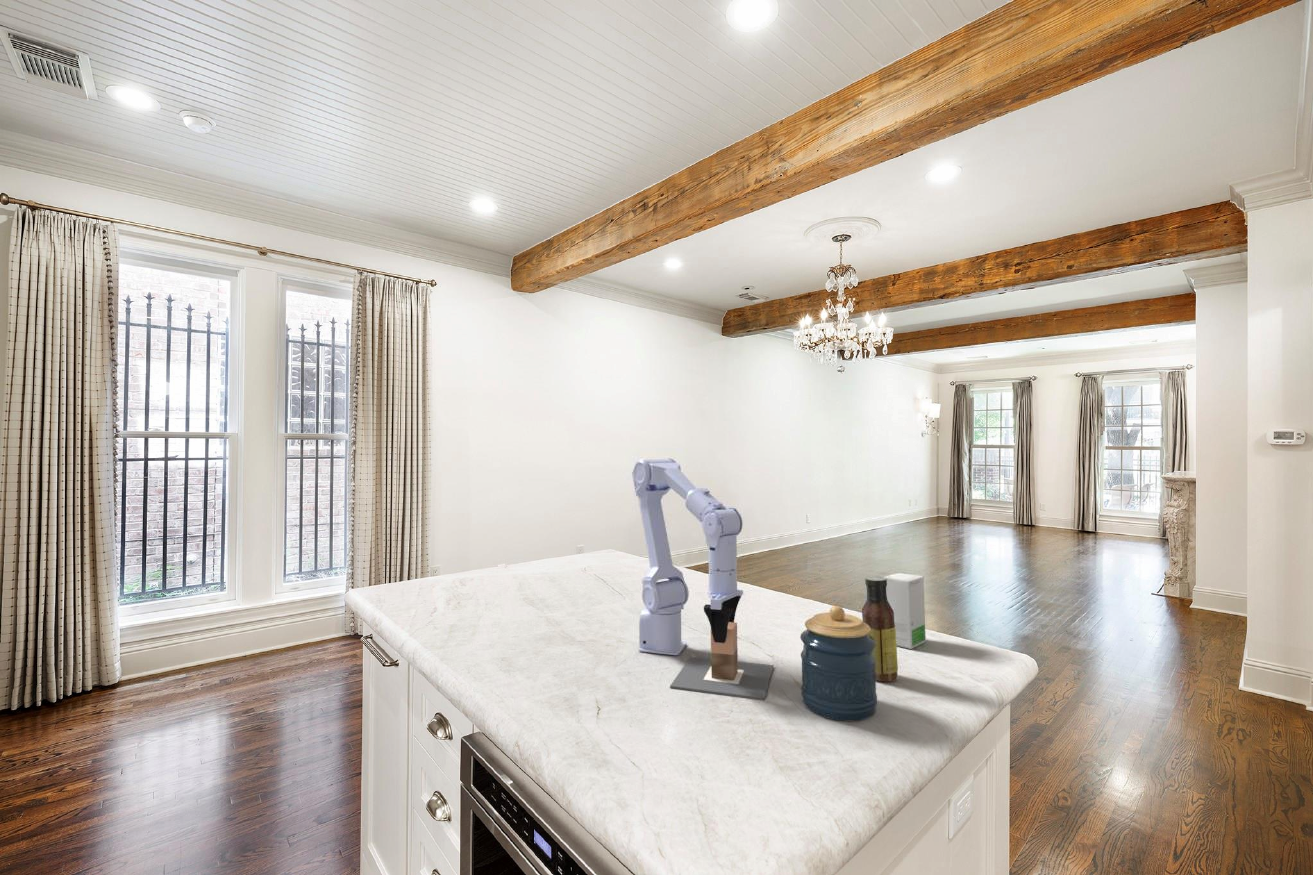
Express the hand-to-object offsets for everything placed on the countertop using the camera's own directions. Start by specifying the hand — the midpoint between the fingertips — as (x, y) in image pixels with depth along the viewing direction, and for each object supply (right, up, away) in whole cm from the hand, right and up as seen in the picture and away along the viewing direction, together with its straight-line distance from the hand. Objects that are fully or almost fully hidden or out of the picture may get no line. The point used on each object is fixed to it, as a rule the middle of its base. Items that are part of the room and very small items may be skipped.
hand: (723, 635), depth 112 cm
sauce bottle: (+31, -8, -1) cm, 32 cm away
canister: (+19, -8, -13) cm, 24 cm away
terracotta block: (0, -3, 0) cm, 3 cm away
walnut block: (0, -8, 0) cm, 8 cm away
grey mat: (0, -8, 0) cm, 8 cm away
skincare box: (+45, -9, +19) cm, 50 cm away
